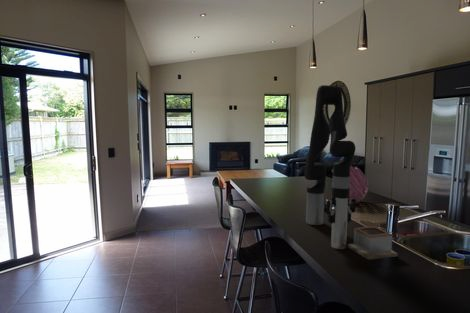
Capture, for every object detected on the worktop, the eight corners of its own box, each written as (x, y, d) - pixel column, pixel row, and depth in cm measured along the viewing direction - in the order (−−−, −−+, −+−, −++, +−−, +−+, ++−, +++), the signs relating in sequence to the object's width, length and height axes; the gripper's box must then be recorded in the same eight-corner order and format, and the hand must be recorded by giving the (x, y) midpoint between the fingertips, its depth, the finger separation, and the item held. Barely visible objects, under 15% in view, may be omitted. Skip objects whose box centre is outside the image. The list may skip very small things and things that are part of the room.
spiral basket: (317, 176, 209) (353, 154, 205) (318, 179, 236) (350, 160, 231) (341, 212, 201) (379, 190, 197) (340, 211, 228) (373, 192, 223)
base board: (347, 246, 139) (347, 243, 139) (374, 243, 142) (374, 241, 142) (368, 259, 125) (368, 256, 125) (397, 256, 129) (397, 253, 129)
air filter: (334, 242, 144) (336, 189, 141) (348, 246, 139) (350, 191, 137) (328, 246, 139) (330, 191, 136) (342, 250, 134) (345, 193, 132)
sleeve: (353, 245, 138) (354, 227, 137) (374, 242, 140) (374, 226, 139) (369, 254, 127) (370, 236, 127) (391, 252, 130) (392, 234, 129)
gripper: (350, 184, 142) (348, 218, 143) (321, 185, 138) (320, 220, 140) (360, 187, 134) (358, 223, 136) (330, 188, 131) (329, 226, 132)
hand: (339, 222), depth 138 cm, fingers open, 8 cm apart
